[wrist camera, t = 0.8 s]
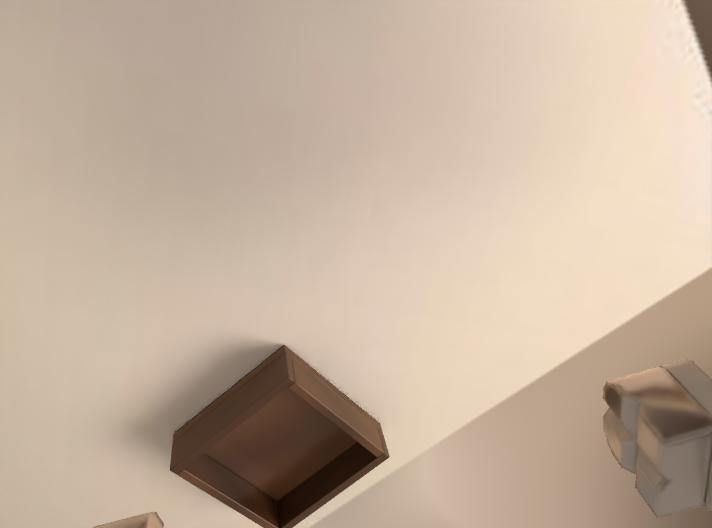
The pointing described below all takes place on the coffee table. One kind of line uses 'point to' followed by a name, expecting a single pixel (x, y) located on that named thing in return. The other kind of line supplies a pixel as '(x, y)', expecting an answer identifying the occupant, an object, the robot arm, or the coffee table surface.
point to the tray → (278, 443)
